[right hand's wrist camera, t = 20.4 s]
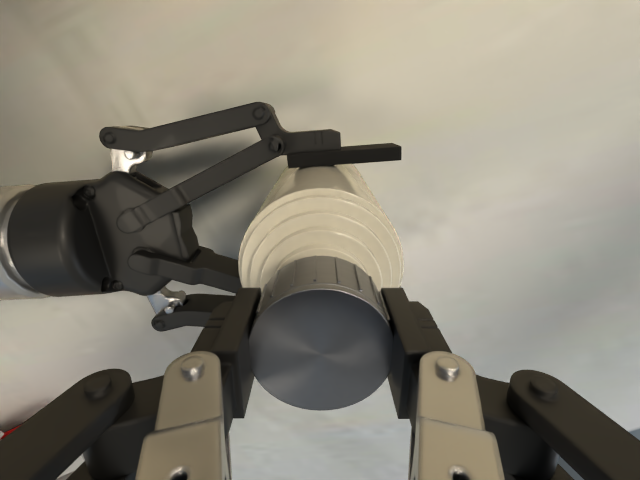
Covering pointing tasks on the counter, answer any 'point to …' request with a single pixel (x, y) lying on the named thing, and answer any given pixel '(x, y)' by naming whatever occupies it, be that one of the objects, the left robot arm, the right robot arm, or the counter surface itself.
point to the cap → (321, 334)
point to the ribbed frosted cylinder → (321, 227)
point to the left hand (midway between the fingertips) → (395, 216)
